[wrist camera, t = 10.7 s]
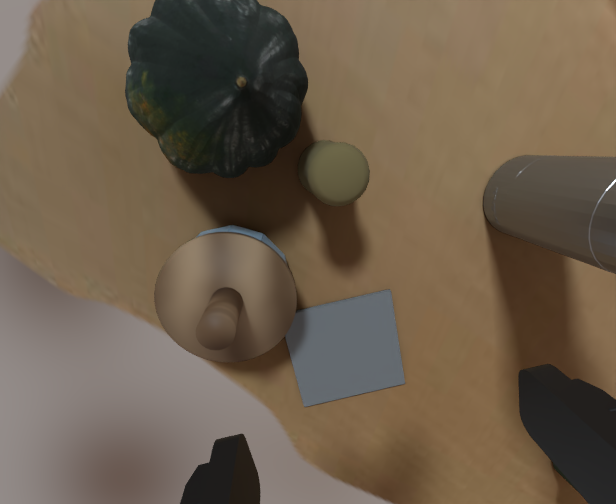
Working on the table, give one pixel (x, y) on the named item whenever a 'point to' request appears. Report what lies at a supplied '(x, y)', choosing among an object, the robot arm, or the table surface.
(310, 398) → the mat
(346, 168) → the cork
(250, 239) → the lid
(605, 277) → the table surface
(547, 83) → the table surface
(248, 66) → the squash
